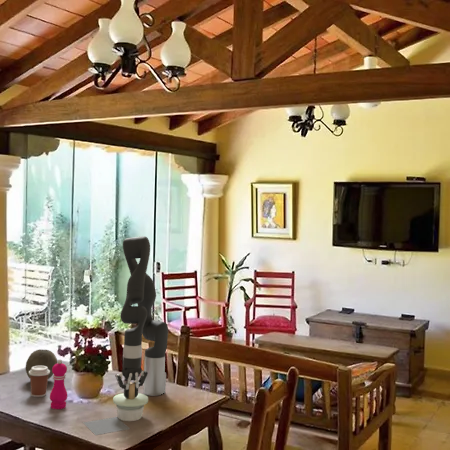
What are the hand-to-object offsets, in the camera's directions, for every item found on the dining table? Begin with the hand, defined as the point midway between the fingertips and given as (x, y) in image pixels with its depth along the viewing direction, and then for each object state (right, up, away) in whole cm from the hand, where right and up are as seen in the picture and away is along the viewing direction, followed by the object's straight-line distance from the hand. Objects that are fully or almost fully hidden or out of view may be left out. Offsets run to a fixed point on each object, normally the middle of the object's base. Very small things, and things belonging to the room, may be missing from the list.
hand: (130, 397), depth 245 cm
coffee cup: (-44, -6, +23) cm, 50 cm away
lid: (0, -2, 0) cm, 2 cm away
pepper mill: (-32, -7, +9) cm, 34 cm away
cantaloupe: (-49, -5, +42) cm, 64 cm away
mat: (-8, -9, -10) cm, 15 cm away
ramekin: (0, -9, 0) cm, 9 cm away
